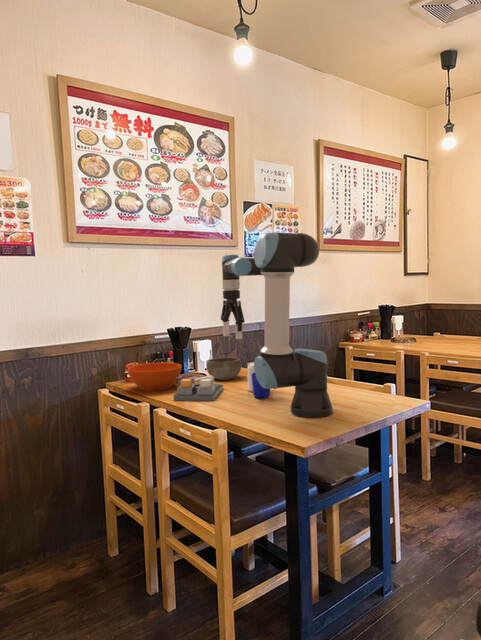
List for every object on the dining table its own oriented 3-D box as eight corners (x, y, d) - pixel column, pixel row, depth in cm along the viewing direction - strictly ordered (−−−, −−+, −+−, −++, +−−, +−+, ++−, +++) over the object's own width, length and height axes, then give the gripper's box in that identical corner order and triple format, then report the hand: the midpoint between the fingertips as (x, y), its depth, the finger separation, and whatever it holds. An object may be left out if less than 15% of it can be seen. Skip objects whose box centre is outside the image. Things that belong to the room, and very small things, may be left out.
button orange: (189, 389, 193) (189, 380, 193) (180, 388, 194) (180, 380, 194) (192, 387, 197) (191, 379, 197) (183, 386, 198) (183, 378, 197)
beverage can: (244, 391, 206) (243, 364, 205) (256, 387, 211) (255, 362, 211) (258, 393, 200) (257, 366, 199) (269, 390, 206) (269, 363, 205)
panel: (213, 400, 189) (213, 388, 189) (173, 400, 192) (173, 388, 192) (223, 388, 211) (223, 378, 211) (187, 388, 214) (187, 378, 213)
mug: (246, 401, 187) (245, 377, 187) (255, 394, 199) (255, 371, 198) (265, 402, 184) (265, 378, 184) (273, 395, 196) (273, 372, 195)
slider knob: (212, 389, 200) (212, 378, 200) (206, 389, 201) (205, 378, 200) (214, 387, 204) (214, 376, 203) (207, 387, 204) (207, 376, 204)
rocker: (211, 378, 207) (210, 376, 207) (194, 382, 208) (194, 379, 208) (212, 377, 210) (212, 375, 210) (196, 380, 211) (195, 378, 211)
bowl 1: (150, 380, 235) (149, 361, 234) (192, 384, 224) (191, 363, 223) (117, 391, 212) (116, 370, 212) (162, 395, 201) (161, 373, 201)
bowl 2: (210, 375, 245) (210, 356, 244) (243, 375, 243) (243, 356, 242) (203, 381, 228) (203, 362, 227) (239, 382, 226) (238, 361, 225)
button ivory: (209, 389, 192) (209, 380, 192) (200, 389, 193) (200, 380, 192) (211, 387, 196) (211, 379, 196) (202, 387, 196) (202, 379, 196)
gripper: (251, 289, 194) (252, 339, 196) (227, 289, 216) (228, 334, 218) (235, 290, 191) (236, 340, 192) (212, 290, 213) (214, 335, 215)
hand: (232, 337), depth 205 cm, fingers open, 13 cm apart
